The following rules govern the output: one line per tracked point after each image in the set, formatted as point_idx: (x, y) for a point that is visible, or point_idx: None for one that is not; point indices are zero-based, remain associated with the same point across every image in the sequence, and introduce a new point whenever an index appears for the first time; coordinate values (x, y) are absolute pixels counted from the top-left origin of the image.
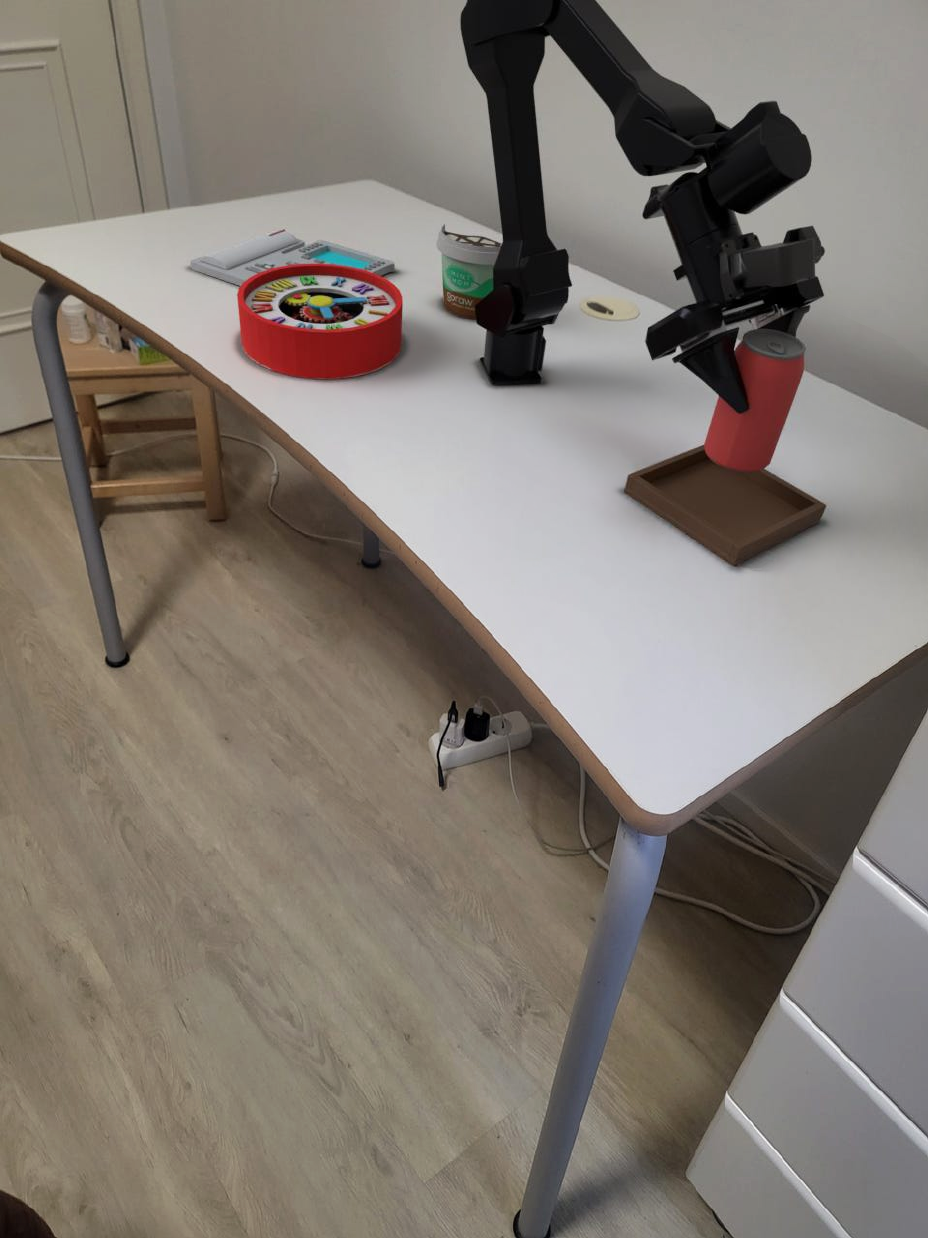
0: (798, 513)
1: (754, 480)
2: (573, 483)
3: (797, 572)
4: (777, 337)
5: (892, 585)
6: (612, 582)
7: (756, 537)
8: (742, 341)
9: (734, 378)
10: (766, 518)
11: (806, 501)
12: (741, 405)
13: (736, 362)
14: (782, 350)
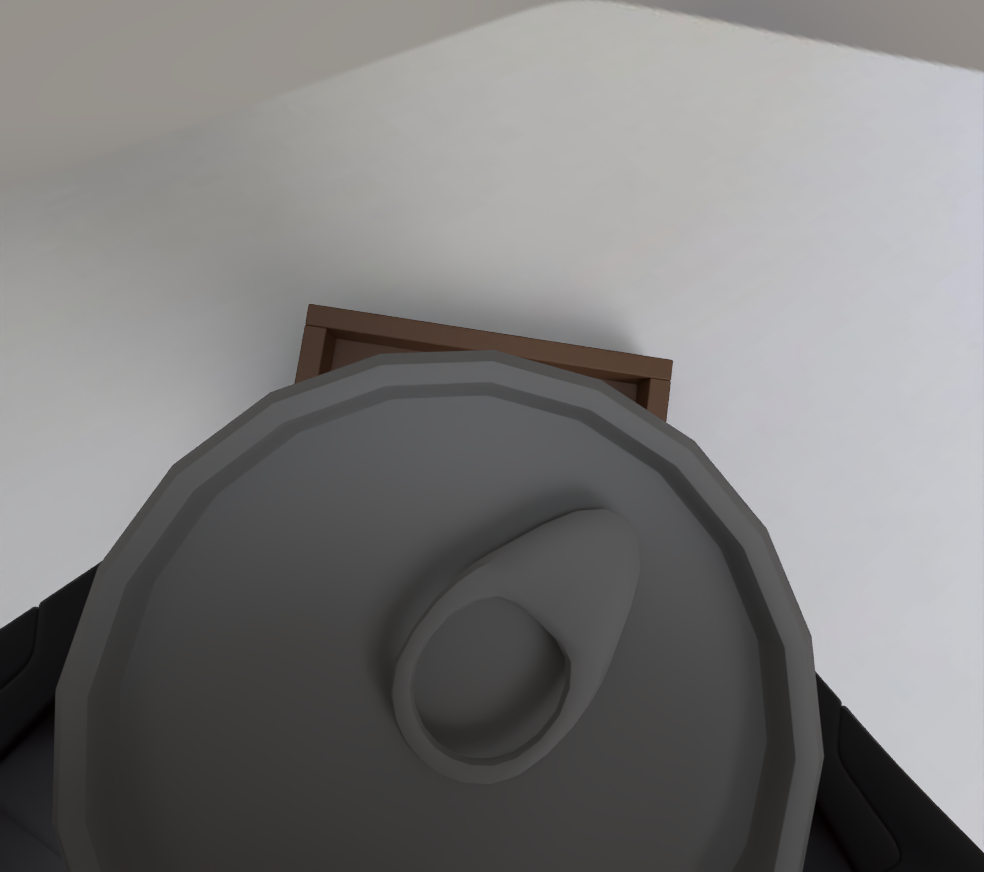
0: (410, 336)
1: None
2: None
3: (555, 263)
4: (200, 806)
5: (428, 99)
6: (912, 520)
7: (601, 356)
8: None
9: (824, 685)
10: None
11: (325, 355)
12: None
13: (827, 789)
14: (563, 542)
